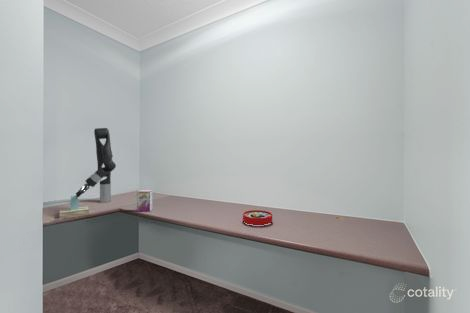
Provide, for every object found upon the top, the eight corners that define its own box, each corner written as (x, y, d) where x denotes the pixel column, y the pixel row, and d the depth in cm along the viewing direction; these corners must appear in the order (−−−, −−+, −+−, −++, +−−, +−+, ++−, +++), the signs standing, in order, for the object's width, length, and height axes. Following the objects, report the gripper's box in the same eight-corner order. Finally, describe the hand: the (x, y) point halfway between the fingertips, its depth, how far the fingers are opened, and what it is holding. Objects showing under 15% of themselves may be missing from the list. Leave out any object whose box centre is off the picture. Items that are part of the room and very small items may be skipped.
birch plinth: (60, 214, 178) (60, 209, 178) (87, 210, 188) (87, 205, 188) (59, 218, 167) (59, 213, 166) (88, 214, 177) (88, 209, 177)
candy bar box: (136, 211, 187) (136, 191, 186) (139, 209, 192) (139, 190, 191) (149, 211, 185) (149, 191, 185) (152, 210, 190) (152, 190, 190)
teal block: (71, 209, 178) (70, 196, 178) (77, 208, 180) (77, 195, 180) (71, 210, 174) (70, 197, 174) (78, 209, 177) (77, 196, 177)
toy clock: (244, 209, 169) (272, 210, 166) (244, 217, 169) (272, 218, 166) (240, 217, 149) (272, 218, 146) (241, 226, 149) (272, 228, 146)
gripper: (89, 175, 189) (72, 191, 182) (90, 177, 177) (72, 194, 171) (96, 181, 192) (80, 197, 186) (98, 183, 180) (81, 200, 174)
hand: (76, 195), depth 178 cm, fingers open, 8 cm apart
